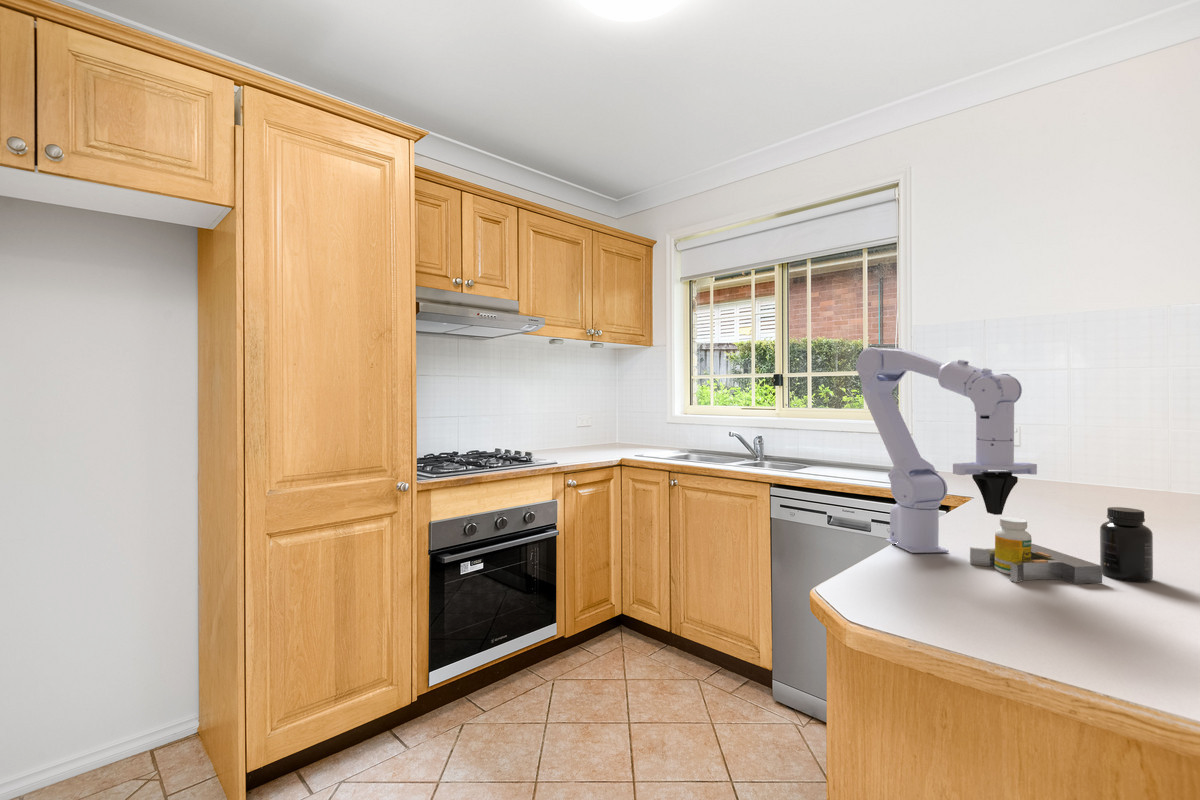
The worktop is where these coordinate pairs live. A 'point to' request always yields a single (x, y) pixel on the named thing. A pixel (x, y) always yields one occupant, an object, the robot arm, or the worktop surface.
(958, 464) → the robot arm
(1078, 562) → the grey pronged bracket
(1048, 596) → the worktop surface
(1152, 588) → the worktop surface
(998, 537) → the supplement bottle
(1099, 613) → the worktop surface
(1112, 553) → the supplement bottle
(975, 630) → the worktop surface
